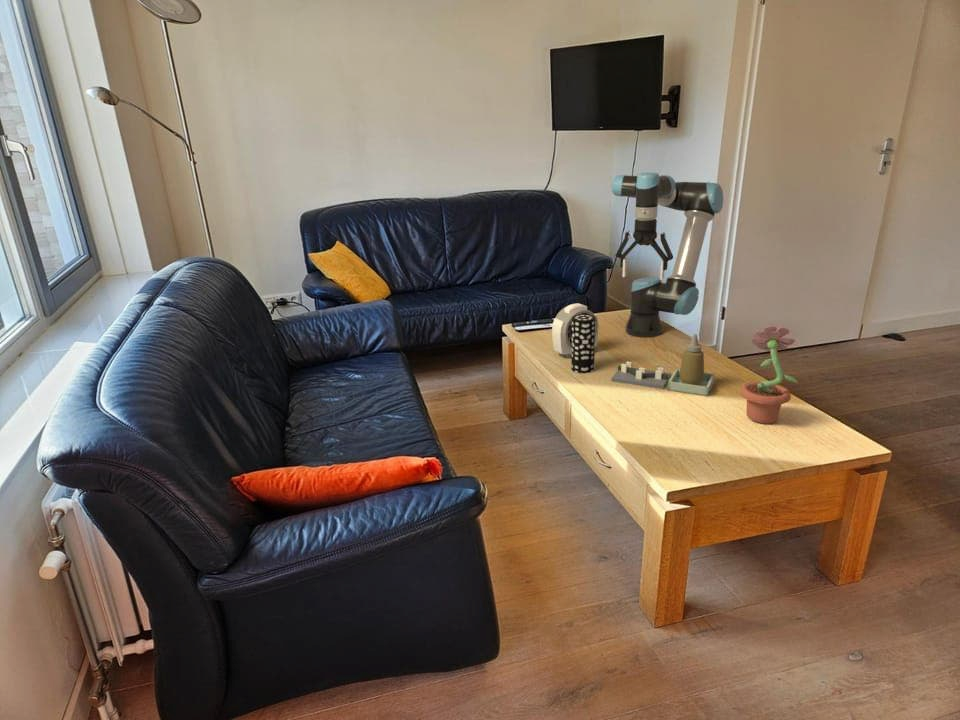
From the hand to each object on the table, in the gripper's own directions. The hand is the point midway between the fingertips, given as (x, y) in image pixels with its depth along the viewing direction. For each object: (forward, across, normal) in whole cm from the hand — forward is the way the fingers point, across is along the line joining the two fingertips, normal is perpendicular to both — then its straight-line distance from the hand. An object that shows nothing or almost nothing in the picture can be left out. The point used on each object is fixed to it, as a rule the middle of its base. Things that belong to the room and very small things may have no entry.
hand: (642, 277), depth 228 cm
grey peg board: (+32, +6, -19) cm, 37 cm away
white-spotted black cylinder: (+32, -16, -18) cm, 40 cm away
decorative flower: (+32, +47, -36) cm, 67 cm away
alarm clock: (+32, -24, -4) cm, 40 cm away
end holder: (+32, +23, -19) cm, 43 cm away
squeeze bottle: (+31, +23, -19) cm, 43 cm away
